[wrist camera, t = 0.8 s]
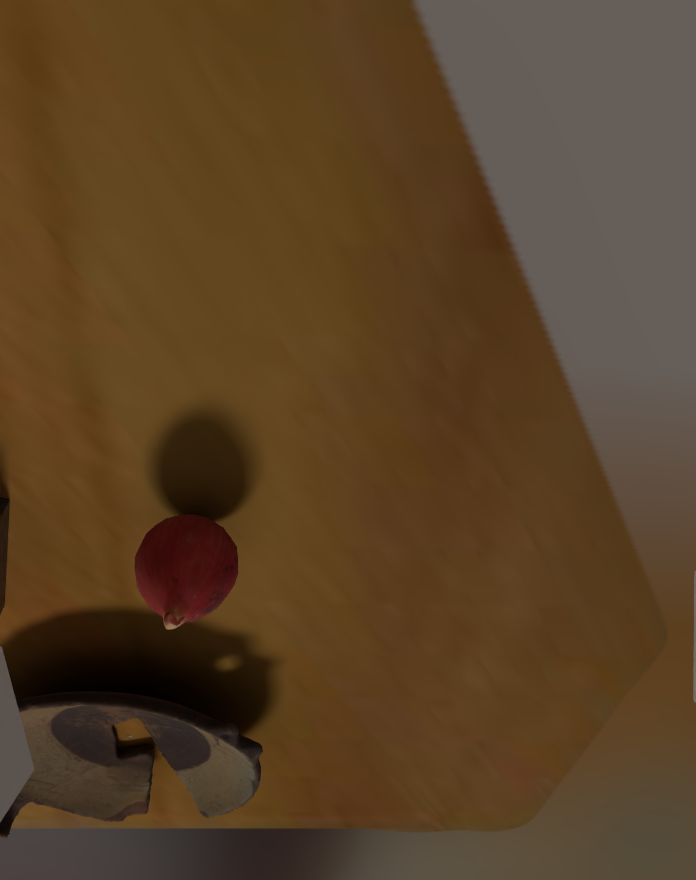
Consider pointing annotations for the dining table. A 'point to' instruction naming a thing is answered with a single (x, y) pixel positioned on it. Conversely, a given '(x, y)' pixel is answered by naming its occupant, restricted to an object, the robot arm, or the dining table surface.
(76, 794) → the broken bowl
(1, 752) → the robot arm
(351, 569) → the dining table surface
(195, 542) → the onion
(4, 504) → the console
